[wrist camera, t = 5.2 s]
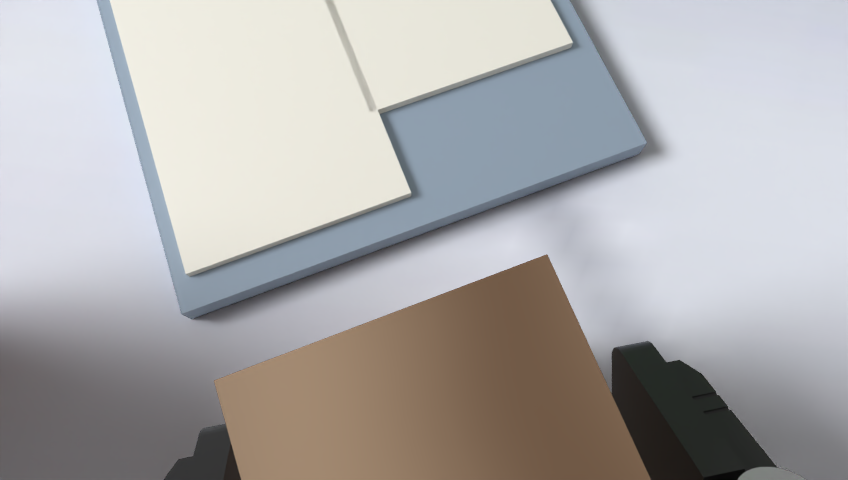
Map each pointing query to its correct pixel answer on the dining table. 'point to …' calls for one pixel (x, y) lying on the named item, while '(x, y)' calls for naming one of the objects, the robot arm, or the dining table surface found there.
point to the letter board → (348, 124)
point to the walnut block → (438, 395)
